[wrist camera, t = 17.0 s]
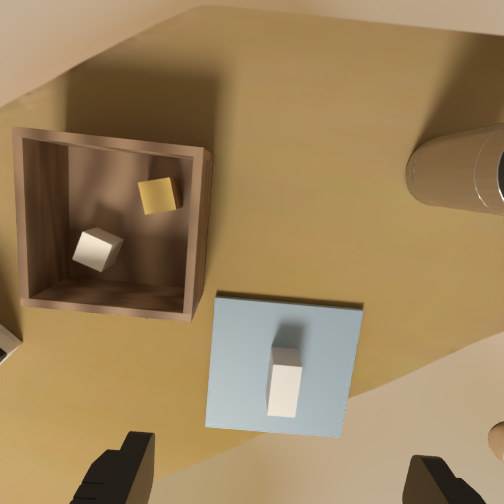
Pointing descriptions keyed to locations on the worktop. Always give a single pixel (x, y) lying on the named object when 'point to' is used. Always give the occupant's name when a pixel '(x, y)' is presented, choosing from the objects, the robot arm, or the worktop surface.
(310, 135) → the worktop surface
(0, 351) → the tea box
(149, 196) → the mustard block
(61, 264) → the box
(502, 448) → the plastic bottle
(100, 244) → the off-white block
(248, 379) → the lid
